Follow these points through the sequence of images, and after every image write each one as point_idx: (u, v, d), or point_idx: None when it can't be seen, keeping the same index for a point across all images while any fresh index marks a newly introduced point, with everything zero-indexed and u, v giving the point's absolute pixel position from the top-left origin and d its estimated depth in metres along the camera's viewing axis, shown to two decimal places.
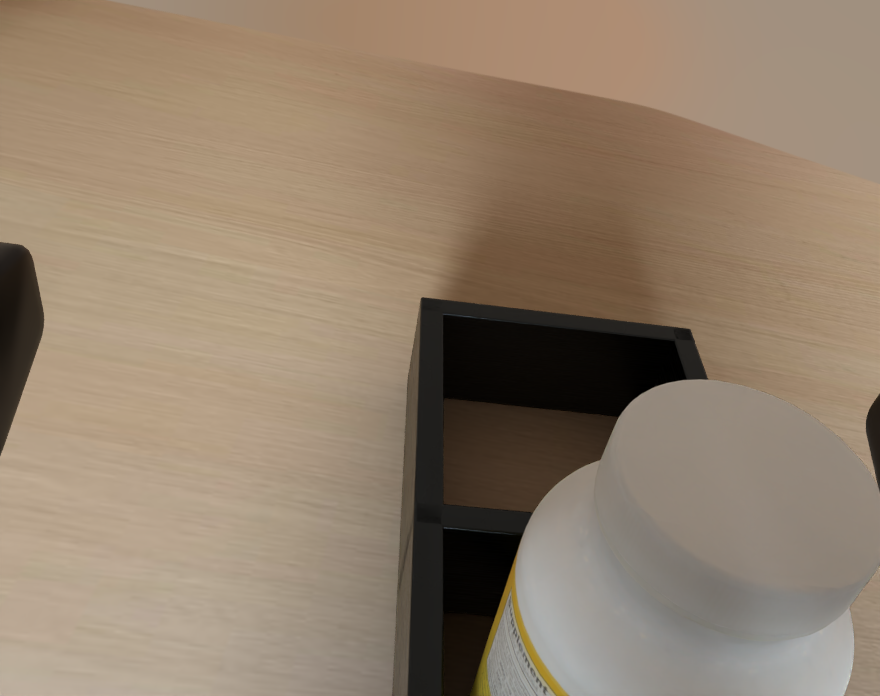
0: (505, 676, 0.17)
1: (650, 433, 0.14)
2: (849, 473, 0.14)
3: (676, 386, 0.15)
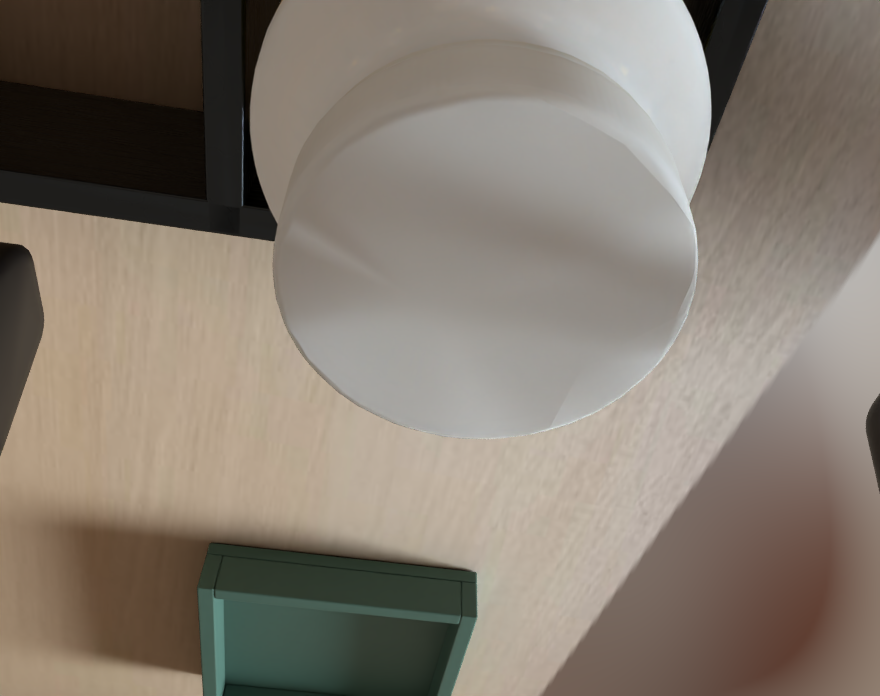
0: None
1: (403, 391, 0.10)
2: (498, 139, 0.08)
3: (301, 331, 0.09)
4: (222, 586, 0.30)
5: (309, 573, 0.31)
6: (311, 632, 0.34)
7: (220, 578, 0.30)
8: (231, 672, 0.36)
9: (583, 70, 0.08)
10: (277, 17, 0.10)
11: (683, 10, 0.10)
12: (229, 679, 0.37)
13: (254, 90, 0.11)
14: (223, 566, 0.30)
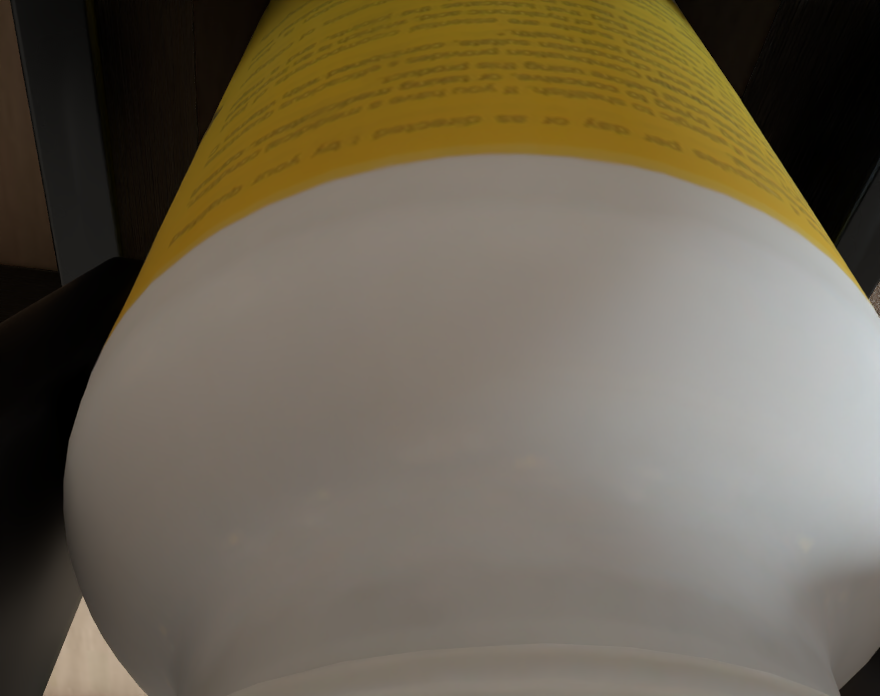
0: None
1: None
2: None
3: None
4: None
5: None
6: None
7: None
8: None
9: None
10: (91, 391, 0.05)
11: None
12: None
13: (63, 501, 0.06)
14: None
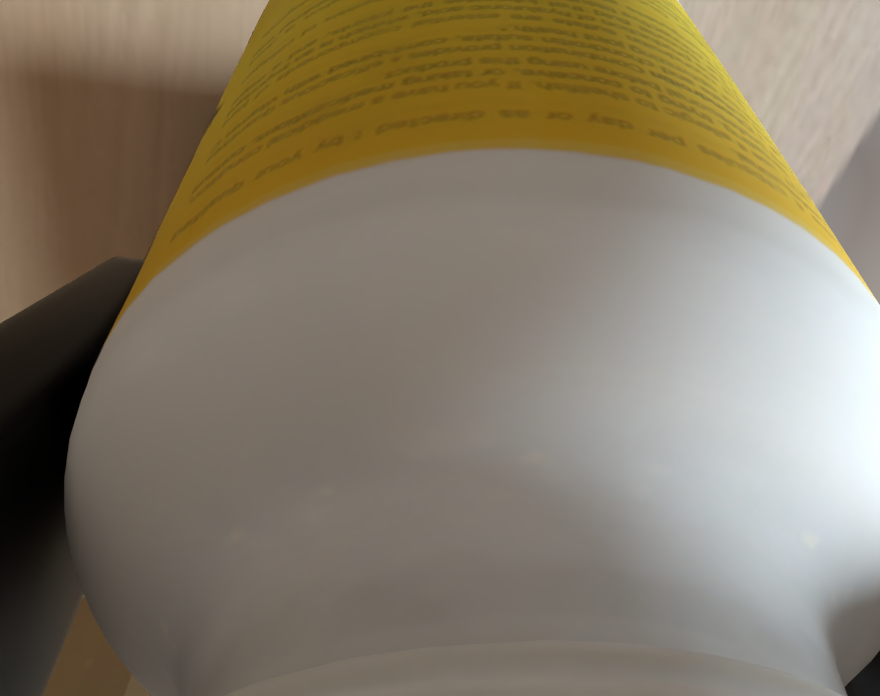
0: None
1: None
2: None
3: None
4: None
5: None
6: None
7: None
8: None
9: None
10: (92, 388, 0.05)
11: None
12: None
13: (64, 498, 0.06)
14: None
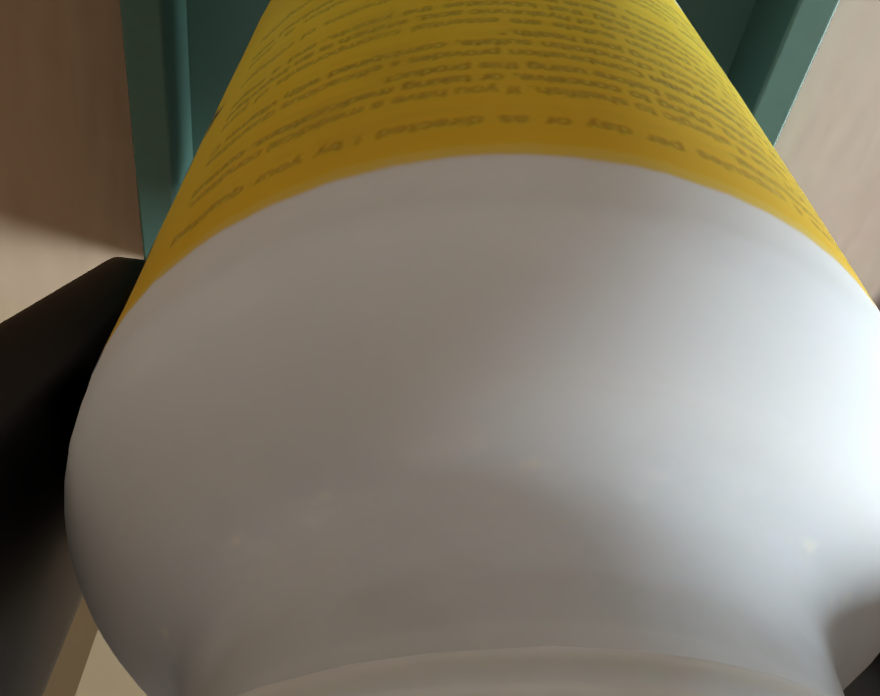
0: None
1: None
2: None
3: None
4: None
5: None
6: None
7: None
8: None
9: None
10: (92, 393, 0.05)
11: None
12: None
13: (64, 502, 0.06)
14: None
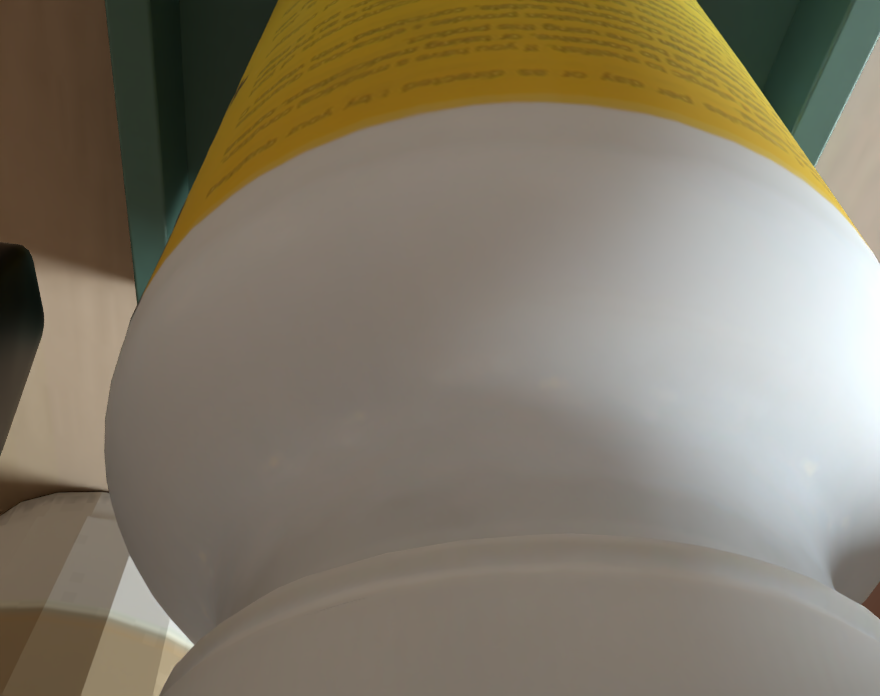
0: None
1: None
2: None
3: None
4: None
5: None
6: None
7: None
8: None
9: (790, 628, 0.04)
10: (135, 331, 0.06)
11: None
12: None
13: (105, 440, 0.06)
14: None
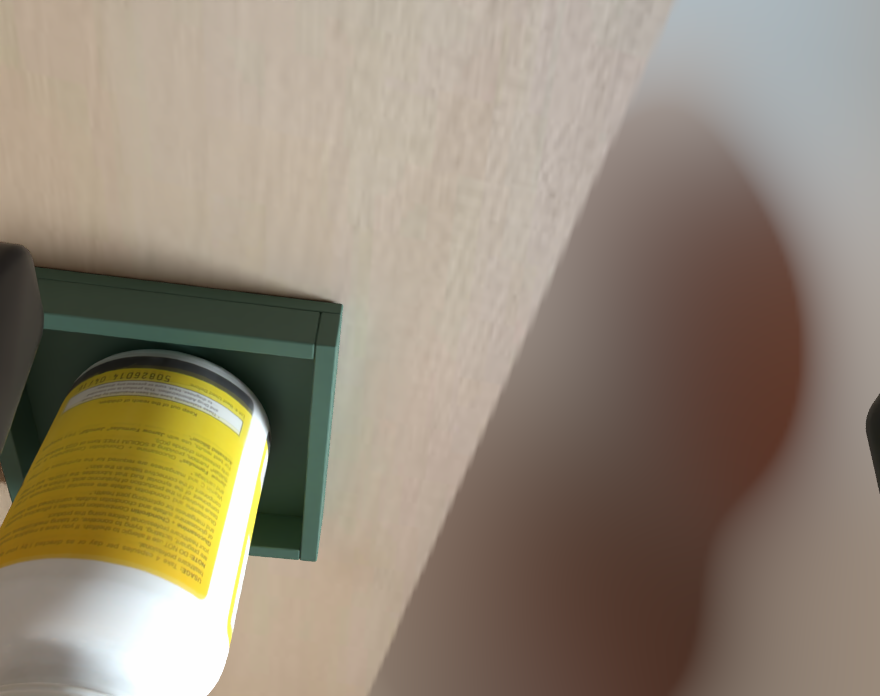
0: None
1: None
2: None
3: None
4: None
5: (115, 295, 0.23)
6: None
7: None
8: None
9: None
10: None
11: (175, 609, 0.19)
12: None
13: None
14: None
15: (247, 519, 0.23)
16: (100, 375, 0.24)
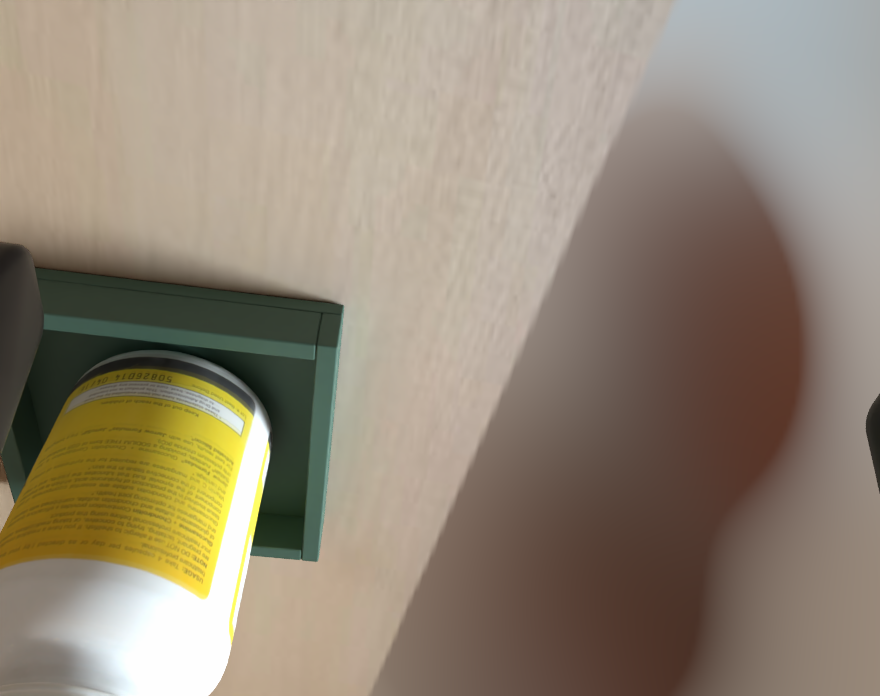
0: None
1: None
2: None
3: None
4: None
5: (117, 296, 0.23)
6: None
7: None
8: None
9: None
10: None
11: (177, 609, 0.19)
12: None
13: None
14: None
15: (248, 519, 0.23)
16: (102, 375, 0.24)
